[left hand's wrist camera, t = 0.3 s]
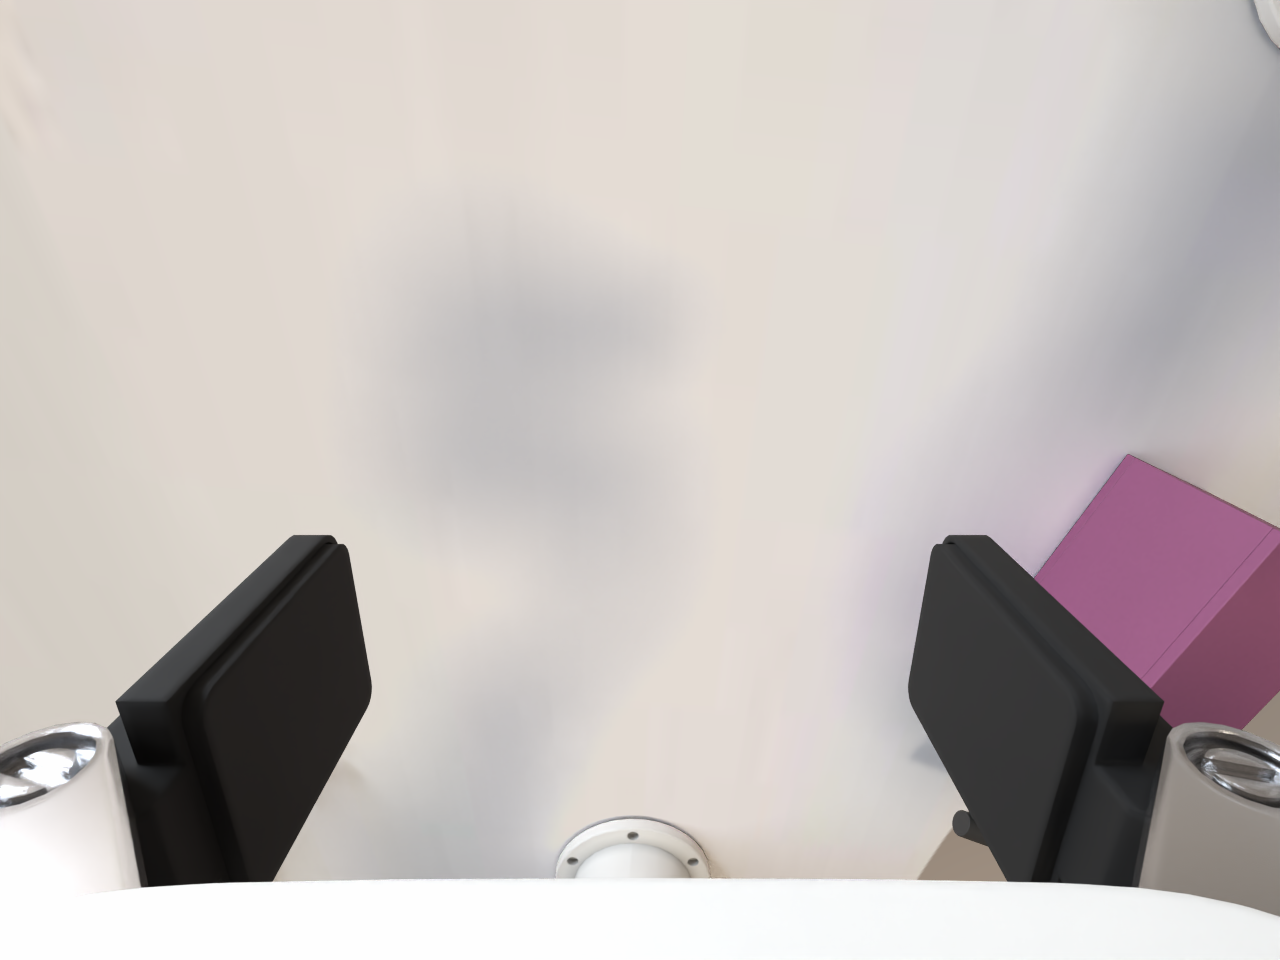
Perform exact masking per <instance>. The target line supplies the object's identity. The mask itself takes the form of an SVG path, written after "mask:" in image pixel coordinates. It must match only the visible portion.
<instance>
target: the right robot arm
mask: <svg viewBox="0 0 1280 960" xmlns="http://www.w3.org/2000/svg"><path fill="white" fill-rule="evenodd" d="M1254 3H1255V6H1256V9H1257V13H1258V16H1259V19H1260V22H1261V23H1262V25H1263V27H1264V29H1265V30H1266V32H1267V34H1268V36H1269V37H1270V39H1271V40H1272V41H1273V42H1274V43H1275V44H1276V46H1277V47H1278V48H1279V49H1280V0H1254Z"/></svg>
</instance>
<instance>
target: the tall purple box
mask: <svg viewBox="0 0 1280 960" xmlns="http://www.w3.org/2000/svg"><path fill="white" fill-rule="evenodd" d="M1034 579H1035V580H1036V581H1037V582H1038V583H1039V584H1040V585H1041V586H1042V587H1043V588H1044V589H1045V590H1047V591H1048V592H1049V593H1050V594H1051V595H1052V596H1053V597H1054V598H1055V599H1056V600H1057V601H1058V602H1059V603H1060V604H1061V605H1062V606H1064V607H1065V608H1066V609H1067V610H1068V611H1069V612H1070V613H1071V614H1072V615H1073V616H1074V617H1075V618H1076V619H1077V620H1078V621H1079V622H1081V623H1082V624H1083V625H1084V626H1085V627H1086V628H1087V629H1088V630H1089V631H1090V632H1091V633H1092V634H1093V635H1094V636H1095V637H1097V638H1098V639H1099V640H1100V641H1101V642H1102V643H1103V644H1104V645H1105V646H1106V647H1107V648H1108V649H1109V650H1110V651H1111V652H1112V653H1114V654H1115V655H1116V656H1117V657H1118V658H1119V659H1120V660H1121V661H1122V662H1123V663H1124V664H1125V665H1126V666H1127V667H1128V668H1129V669H1131V670H1132V671H1133V672H1134V673H1135V674H1136V675H1137V676H1138V677H1139V678H1140V679H1141V680H1142V681H1143V682H1144V683H1145V684H1146V685H1148V686H1149V687H1150V688H1151V689H1152V690H1153V691H1154V692H1155V693H1156V694H1157V695H1158V696H1159V697H1160V698H1161V699H1162V700H1163V701H1165V702H1164V705H1163V707H1162V710H1161V713H1160V716H1161V717H1162V718H1163V719H1164V720H1165V721H1166V722H1167V723H1169V724H1170V725H1171V726H1172V727H1173V728H1174V727H1177V726H1179V725H1181V724H1184V723H1195V722H1206V723H1213V724H1220V725H1226V726H1229V727H1233V728H1236V729H1240V730H1242V729H1243V728H1244V727H1245V726H1246V725H1247V724H1248V723H1249V722H1250V721H1251V720H1252V719H1253V718H1254V717H1255V716H1256V714H1258V712H1259V711H1260V710H1261V709H1262V708H1263V707H1264V706H1265V705H1266V704H1267V703H1268V702H1269V701H1270V700H1271V699H1272V698H1273V697H1274V696H1275V695H1276V694H1277V693H1278V692H1279V691H1280V528H1278V527H1276V526H1274V525H1272V524H1270V523H1268V522H1266V521H1264V520H1262V519H1260V518H1258V517H1256V516H1254V515H1252V514H1250V513H1248V512H1246V511H1244V510H1242V509H1240V508H1238V507H1236V506H1234V505H1232V504H1230V503H1228V502H1226V501H1224V500H1222V499H1220V498H1218V497H1216V496H1214V495H1212V494H1210V493H1208V492H1206V491H1204V490H1202V489H1200V488H1198V487H1196V486H1194V485H1192V484H1190V483H1188V482H1186V481H1183V480H1181V479H1179V478H1177V477H1175V476H1173V475H1171V474H1169V473H1167V472H1165V471H1163V470H1161V469H1158V468H1156V467H1154V466H1152V465H1150V464H1148V463H1146V462H1144V461H1142V460H1140V459H1138V458H1135V457H1133V456H1131V455H1129V454H1128V455H1127V456H1126V457H1125V458H1124V460H1123V461H1122V462H1121V464H1120V465H1119V466H1118V468H1117V469H1116V470H1115V472H1114V473H1113V474H1112V476H1111V477H1110V478H1109V480H1108V481H1107V482H1106V484H1105V485H1104V486H1103V488H1102V489H1101V490H1100V492H1099V493H1098V494H1097V496H1096V497H1095V498H1094V500H1093V501H1092V502H1091V504H1090V505H1089V506H1088V508H1087V509H1086V510H1085V512H1084V513H1083V514H1082V515H1081V517H1080V518H1079V519H1078V521H1077V522H1076V523H1075V525H1074V526H1073V527H1072V529H1071V530H1070V531H1069V533H1068V534H1067V535H1066V537H1065V538H1064V539H1063V541H1062V542H1061V543H1060V545H1059V546H1058V547H1057V549H1056V550H1055V551H1054V553H1053V554H1052V555H1051V557H1050V558H1049V559H1048V561H1047V562H1046V563H1045V565H1044V566H1043V567H1042V569H1041V570H1040V571H1039V573H1038V574H1037V575H1036V577H1035V578H1034Z"/></svg>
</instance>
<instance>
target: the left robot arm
mask: <svg viewBox="0 0 1280 960" xmlns="http://www.w3.org/2000/svg"><path fill="white" fill-rule="evenodd" d="M371 692H372V684H371V677H370V671H369V665H368V660H367V654H366V648H365V642H364V637H363V631H362V625H361V620H360V614H359V608H358V603H357V597H356V591H355V585H354V580H353V574H352V568H351V563H350V557H349V552H348V549H347V547H346V546H345V545H344V544H337V541H336V540H335V538H334V537H333V536H331V535H293V536H292V537H290V538H289V539H288V540H287V541H286V542H285V543H283V544H282V545H281V546H280V547H279V548H278V549H277V550H276V551H275V552H274V553H273V554H272V555H271V556H270V557H269V558H268V559H266V560H265V561H264V562H263V563H262V564H261V565H260V566H259V567H258V568H257V569H256V570H255V571H254V572H253V573H252V574H250V575H249V576H248V577H247V578H246V579H245V580H244V581H243V582H242V583H241V584H240V585H239V586H238V587H237V588H236V589H235V590H233V591H232V592H231V593H230V594H229V595H228V596H227V597H226V598H225V599H224V600H223V601H222V602H221V603H220V604H219V605H218V606H216V607H215V608H214V609H213V610H212V611H211V612H210V613H209V614H208V615H207V616H206V617H205V618H204V619H203V620H202V621H201V622H199V623H198V624H197V625H196V626H195V627H194V628H193V629H192V630H191V631H190V632H189V633H188V634H187V635H186V636H185V637H183V638H182V639H181V640H180V641H179V642H178V643H177V644H176V645H175V646H174V647H173V648H172V649H171V650H170V651H169V652H168V653H166V654H165V655H164V656H163V657H162V658H161V659H160V660H159V661H158V662H157V663H156V664H155V665H154V666H153V667H152V668H151V669H149V670H148V671H147V672H146V673H145V674H144V675H143V676H142V677H141V678H140V679H139V680H138V681H137V682H136V683H135V684H134V685H132V686H131V687H130V688H129V689H128V690H127V691H126V692H125V693H124V694H123V695H122V696H121V697H120V698H119V699H118V700H117V701H115V702H116V705H117V707H118V710H119V713H120V716H119V717H118V718H117V719H116V720H115V721H114V722H113V723H111V724H110V725H109V726H108V727H107V728H106V727H103V726H101V725H99V724H96V723H85V722H74V723H67V724H60V725H54V726H51V727H47V728H44V729H40V730H37V731H33V732H30V733H28V734H26V735H23V736H21V737H19V738H16V739H14V740H11V741H9V742H7V743H5V744H3V745H1V746H0V960H1280V746H1279V745H1277V744H1275V743H1273V742H1271V741H1269V740H1266V739H1264V738H1261V737H1259V736H1257V735H1254V734H1252V733H1249V732H1247V731H1243V730H1240V729H1236V728H1233V727H1229V726H1226V725H1220V724H1213V723H1206V722H1195V723H1184V724H1181V725H1179V726H1177V727H1174V728H1173V727H1172V726H1171V725H1170V724H1169V723H1167V722H1166V721H1165V720H1164V719H1163V718H1162V717H1161V716H1160V713H1161V710H1162V707H1163V705H1164V702H1165V701H1163V700H1162V699H1161V698H1160V697H1159V696H1158V695H1157V694H1156V693H1155V692H1154V691H1153V690H1152V689H1151V688H1150V687H1149V686H1148V685H1146V684H1145V683H1144V682H1143V681H1142V680H1141V679H1140V678H1139V677H1138V676H1137V675H1136V674H1135V673H1134V672H1133V671H1132V670H1131V669H1129V668H1128V667H1127V666H1126V665H1125V664H1124V663H1123V662H1122V661H1121V660H1120V659H1119V658H1118V657H1117V656H1116V655H1115V654H1114V653H1112V652H1111V651H1110V650H1109V649H1108V648H1107V647H1106V646H1105V645H1104V644H1103V643H1102V642H1101V641H1100V640H1099V639H1098V638H1097V637H1095V636H1094V635H1093V634H1092V633H1091V632H1090V631H1089V630H1088V629H1087V628H1086V627H1085V626H1084V625H1083V624H1082V623H1081V622H1079V621H1078V620H1077V619H1076V618H1075V617H1074V616H1073V615H1072V614H1071V613H1070V612H1069V611H1068V610H1067V609H1066V608H1065V607H1064V606H1062V605H1061V604H1060V603H1059V602H1058V601H1057V600H1056V599H1055V598H1054V597H1053V596H1052V595H1051V594H1050V593H1049V592H1048V591H1047V590H1045V589H1044V588H1043V587H1042V586H1041V585H1040V584H1039V583H1038V582H1037V581H1036V580H1035V579H1034V578H1033V577H1032V576H1031V575H1030V574H1028V573H1027V572H1026V571H1025V570H1024V569H1023V568H1022V567H1021V566H1020V565H1019V564H1018V563H1017V562H1016V561H1015V560H1014V559H1012V558H1011V557H1010V556H1009V555H1008V554H1007V553H1006V552H1005V551H1004V550H1003V549H1002V548H1001V547H1000V546H999V545H998V544H997V543H995V542H994V541H993V540H992V539H991V538H990V537H988V536H987V535H949V536H947V537H946V538H945V540H944V541H943V544H936V545H935V546H934V547H933V549H932V552H931V557H930V563H929V568H928V574H927V580H926V585H925V591H924V597H923V603H922V608H921V614H920V620H919V625H918V631H917V637H916V642H915V648H914V654H913V660H912V665H911V671H910V677H909V684H908V692H909V699H910V702H911V705H912V707H913V709H914V711H915V713H916V715H917V717H918V718H919V720H920V722H921V724H922V726H923V728H924V729H925V731H926V733H927V735H928V737H929V739H930V740H931V742H932V744H933V746H934V748H935V750H936V751H937V753H938V755H939V757H940V759H941V761H942V762H943V764H944V766H945V768H946V770H947V772H948V773H949V775H950V777H951V779H952V781H953V783H954V784H955V786H956V788H957V790H958V792H959V794H960V795H961V797H962V799H963V801H964V803H965V805H966V806H967V808H968V810H969V812H970V814H971V816H972V817H973V819H974V821H975V823H976V825H977V827H978V828H979V830H980V832H981V834H982V836H983V838H984V839H985V841H986V843H987V845H988V847H989V849H990V850H991V852H992V854H993V856H994V858H995V859H996V861H997V863H998V865H999V867H1000V869H1001V871H1002V872H1003V874H1004V876H1005V878H1006V880H1007V882H987V881H937V880H888V879H710V869H709V865H708V860H707V858H706V856H705V854H704V852H703V851H702V849H701V848H700V847H699V846H698V844H697V843H696V842H695V841H694V840H693V839H691V838H690V837H689V836H688V835H686V834H685V833H683V832H681V831H680V830H678V829H676V828H674V827H672V826H669V825H666V824H663V823H660V822H656V821H651V820H645V819H622V820H613V821H610V822H606V823H602V824H599V825H596V826H594V827H592V828H589V829H587V830H585V831H584V832H582V833H581V834H579V835H578V836H576V837H575V838H574V839H573V840H572V841H571V842H570V843H569V844H568V845H567V846H566V847H565V849H564V850H563V852H562V853H561V855H560V857H559V860H558V863H557V867H556V874H555V879H392V880H343V881H293V882H273V880H274V878H275V876H276V874H277V872H278V871H279V869H280V867H281V865H282V863H283V861H284V860H285V858H286V856H287V854H288V852H289V850H290V849H291V847H292V845H293V843H294V841H295V839H296V838H297V836H298V834H299V832H300V830H301V828H302V827H303V825H304V823H305V821H306V819H307V817H308V816H309V814H310V812H311V810H312V808H313V806H314V805H315V803H316V801H317V799H318V797H319V795H320V794H321V792H322V790H323V788H324V786H325V784H326V783H327V781H328V779H329V777H330V775H331V773H332V772H333V770H334V768H335V766H336V764H337V762H338V761H339V759H340V757H341V755H342V753H343V751H344V750H345V748H346V746H347V744H348V742H349V740H350V739H351V737H352V735H353V733H354V731H355V729H356V728H357V726H358V724H359V722H360V720H361V718H362V717H363V715H364V713H365V711H366V709H367V707H368V705H369V702H370V699H371Z"/></svg>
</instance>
